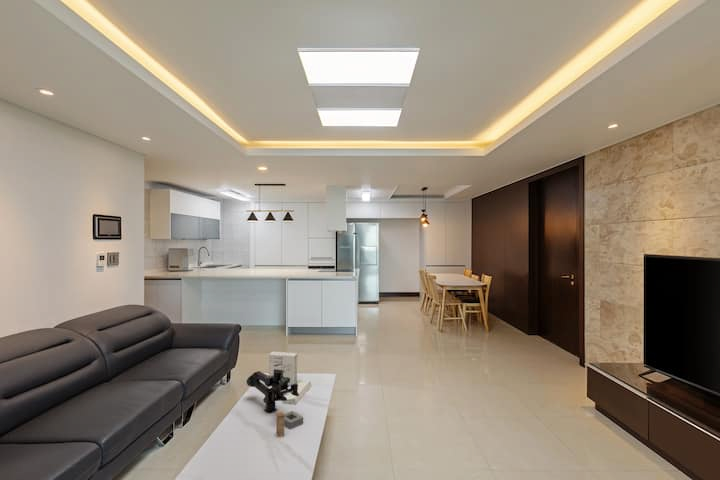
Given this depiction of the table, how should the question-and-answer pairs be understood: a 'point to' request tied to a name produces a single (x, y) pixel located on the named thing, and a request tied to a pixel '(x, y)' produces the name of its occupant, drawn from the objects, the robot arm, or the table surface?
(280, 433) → the brown wooden block
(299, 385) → the decorative molding
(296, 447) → the table surface
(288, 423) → the grey block with slot
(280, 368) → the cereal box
